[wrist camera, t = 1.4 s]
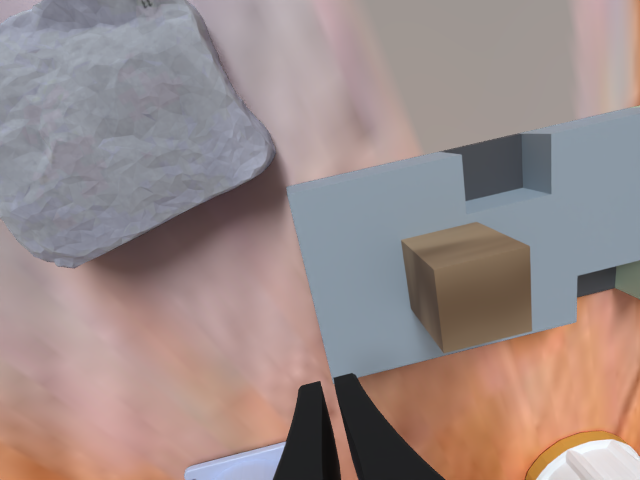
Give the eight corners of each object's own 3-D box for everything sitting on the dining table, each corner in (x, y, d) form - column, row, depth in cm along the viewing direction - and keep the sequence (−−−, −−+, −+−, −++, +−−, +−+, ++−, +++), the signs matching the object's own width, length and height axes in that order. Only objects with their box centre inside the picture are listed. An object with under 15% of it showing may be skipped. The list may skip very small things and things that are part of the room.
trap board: (327, 356, 22) (339, 410, 18) (286, 186, 19) (288, 203, 14) (675, 269, 23) (765, 301, 19) (696, 92, 20) (812, 81, 15)
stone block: (-12, 100, 18) (94, 271, 19) (-127, 63, 13) (23, 294, 14) (195, -10, 18) (288, 169, 19) (155, -87, 13) (283, 158, 14)
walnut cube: (481, 291, 19) (532, 330, 15) (410, 308, 19) (443, 353, 15) (476, 221, 18) (530, 246, 14) (400, 239, 18) (433, 269, 14)
